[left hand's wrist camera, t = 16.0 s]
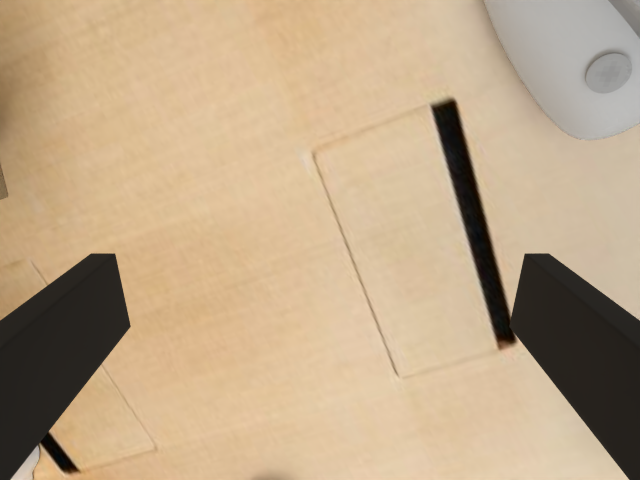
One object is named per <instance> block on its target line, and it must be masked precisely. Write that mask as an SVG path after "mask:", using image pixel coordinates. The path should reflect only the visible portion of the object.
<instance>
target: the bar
mask: <svg viewBox="0 0 640 480" xmlns="http://www.w3.org/2000/svg"><path fill="white" fill-rule="evenodd" d="M6 197H8V194H7V190H6V186H5V182H4V178H3V174H2V170H1V166H0V200H1V199H3V198H6Z"/></svg>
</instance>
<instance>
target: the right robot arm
mask: <svg viewBox="0 0 640 480" xmlns="http://www.w3.org/2000/svg"><path fill="white" fill-rule="evenodd" d="M38 460H39V447H38V445H37V447H36V448H35V449H34V450H33V452H32V453H31V454H30V456H29V457H28V458H27V459H26V461H25V462H24V463H23V464H22V466H21V467H20V468H19V470H18V471H17V472H16V473H15V475H14V476H13V477H12V479H11V480H33V474H32V472H33V470H34V468H35V466H36V465H37V463H38Z"/></svg>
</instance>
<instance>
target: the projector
mask: <svg viewBox="0 0 640 480" xmlns="http://www.w3.org/2000/svg"><path fill="white" fill-rule="evenodd" d="M484 3H485V6H486V9H487V12H488V14H489V17H490V19H491V22H492V24H493V27H494V29H495V31H496V34H497V36H498V38H499V40H500V42H501V44H502V46H503V48H504V50H505V52H506V54H507V56H508V58H509V60H510V62H511V63H512V65H513V67H514V69H515V70H516V72H517V74H518V76H519V77H520V79H521V80H522V82H523V84H524V85H525V87H526V88H527V90H528V91H529V93H530V94H531V96H532V97H533V98H534V100H535V101H536V103H537V104H538V105H539V106H540V108H541V109H542V110H543V112H544V113H545V114H546V115H547V116H548V117H549V119H550V120H551V121H552V122H553V123H554V124H555V125H556V126H557V127H559V128H560V129H561V130H562V131H564V132H565V133H567V134H568V135H570V136H572V137H574V138H577V139H581V140H597V139H603V138H607V137H611V136H614V135H617V134H619V133H621V132H624V131H626V130H628V129H630V128H632V127H634V126H636V125H638V124H639V123H640V0H484Z"/></svg>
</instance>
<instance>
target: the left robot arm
mask: <svg viewBox="0 0 640 480" xmlns="http://www.w3.org/2000/svg"><path fill="white" fill-rule="evenodd" d="M130 327H131V326H130V321H129V317H128V312H127V307H126V303H125V298H124V293H123V288H122V284H121V279H120V274H119V270H118V265H117V260H116V255H115V254H90V255H89V256H87V257H86V258H85V259H83V260H82V261H81V262H79V263H78V264H76V265H75V266H74V267H72V268H71V269H70V270H68V271H67V272H66V273H64V274H63V275H62V276H60V277H59V278H57V279H56V280H55V281H53V282H52V283H51V284H49V285H48V286H47V287H45V288H44V289H43V290H41V291H40V292H39V293H37V294H36V295H34V296H33V297H32V298H30V299H29V300H28V301H26V302H25V303H24V304H22V305H21V306H20V307H18V308H17V309H15V310H14V311H13V312H11V313H10V314H9V315H7V316H6V317H5V318H3V319H2V320H1V321H0V480H11V479H12V477H13V476H14V475H15V473H16V472H17V471H18V470H19V468H20V467H21V466H22V464H23V463H24V462H25V461H26V459H27V458H28V457H29V456H30V454H31V453H32V452H33V450H34V449H35V448H36V447H37V445H38V444H39V443H40V442H41V440H42V439H43V438H44V436H45V435H46V434H47V433H48V431H49V430H50V429H51V427H52V426H53V425H54V424H55V422H56V421H57V420H58V419H59V417H60V416H61V415H62V413H63V412H64V411H65V410H66V408H67V407H68V406H69V404H70V403H71V402H72V401H73V399H74V398H75V397H76V396H77V394H78V393H79V392H80V390H81V389H82V388H83V387H84V385H85V384H86V383H87V382H88V380H89V379H90V378H91V376H92V375H93V374H94V373H95V371H96V370H97V369H98V367H99V366H100V365H101V364H102V362H103V361H104V360H105V359H106V357H107V356H108V355H109V353H110V352H111V351H112V350H113V348H114V347H115V346H116V345H117V343H118V342H119V341H120V339H121V338H122V337H123V336H124V334H125V333H126V332H127V330H128V329H129V328H130ZM509 327H510V328H511V329H512V330H513V332H514V333H515V334H516V336H517V337H518V338H519V339H520V341H521V342H522V343H523V345H524V346H525V347H526V348H527V350H528V351H529V352H530V353H531V355H532V356H533V357H534V359H535V360H536V361H537V362H538V364H539V365H540V366H541V367H542V369H543V370H544V371H545V373H546V374H547V375H548V376H549V378H550V379H551V380H552V382H553V383H554V384H555V385H556V387H557V388H558V389H559V390H560V392H561V393H562V394H563V396H564V397H565V398H566V399H567V401H568V402H569V403H570V404H571V406H572V407H573V408H574V410H575V411H576V412H577V413H578V415H579V416H580V417H581V419H582V420H583V421H584V422H585V424H586V425H587V426H588V427H589V429H590V430H591V431H592V433H593V434H594V435H595V436H596V438H597V439H598V440H599V442H600V443H601V444H602V445H603V447H604V448H605V449H606V450H607V452H608V453H609V454H610V456H611V457H612V458H613V459H614V461H615V462H616V463H617V464H618V466H619V467H620V468H621V470H622V471H623V472H624V473H625V475H626V476H627V477H628V479H629V480H640V321H639V320H638V319H637V318H635V317H634V316H633V315H631V314H630V313H629V312H627V311H626V310H625V309H623V308H622V307H620V306H619V305H618V304H616V303H615V302H614V301H612V300H611V299H610V298H608V297H607V296H606V295H604V294H603V293H601V292H600V291H599V290H597V289H596V288H595V287H593V286H592V285H591V284H589V283H588V282H587V281H585V280H584V279H583V278H581V277H580V276H578V275H577V274H576V273H574V272H573V271H572V270H570V269H569V268H568V267H566V266H565V265H564V264H562V263H561V262H559V261H558V260H557V259H555V258H554V257H553V256H551V255H550V254H525V255H524V260H523V265H522V270H521V274H520V279H519V284H518V288H517V293H516V298H515V303H514V307H513V312H512V317H511V321H510V326H509Z"/></svg>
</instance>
